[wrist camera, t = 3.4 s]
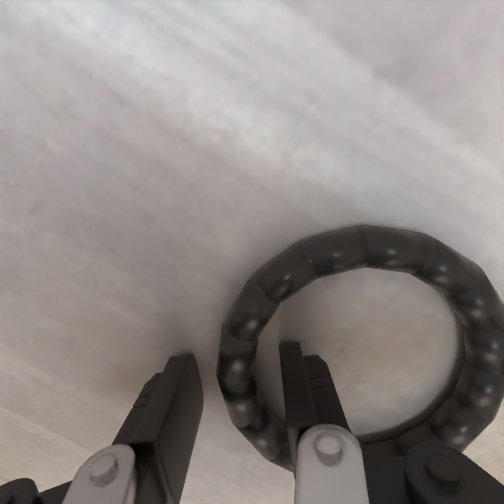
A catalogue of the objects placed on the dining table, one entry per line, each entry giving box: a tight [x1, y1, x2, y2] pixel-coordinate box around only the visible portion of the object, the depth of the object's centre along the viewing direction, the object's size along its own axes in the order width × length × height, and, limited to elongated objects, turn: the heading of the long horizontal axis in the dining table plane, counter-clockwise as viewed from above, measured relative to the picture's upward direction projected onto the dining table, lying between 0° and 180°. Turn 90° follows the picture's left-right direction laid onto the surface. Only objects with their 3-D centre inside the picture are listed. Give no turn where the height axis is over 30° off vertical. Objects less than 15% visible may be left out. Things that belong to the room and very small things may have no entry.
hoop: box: [216, 225, 504, 473], centre depth 10 cm, size 9×9×1 cm
